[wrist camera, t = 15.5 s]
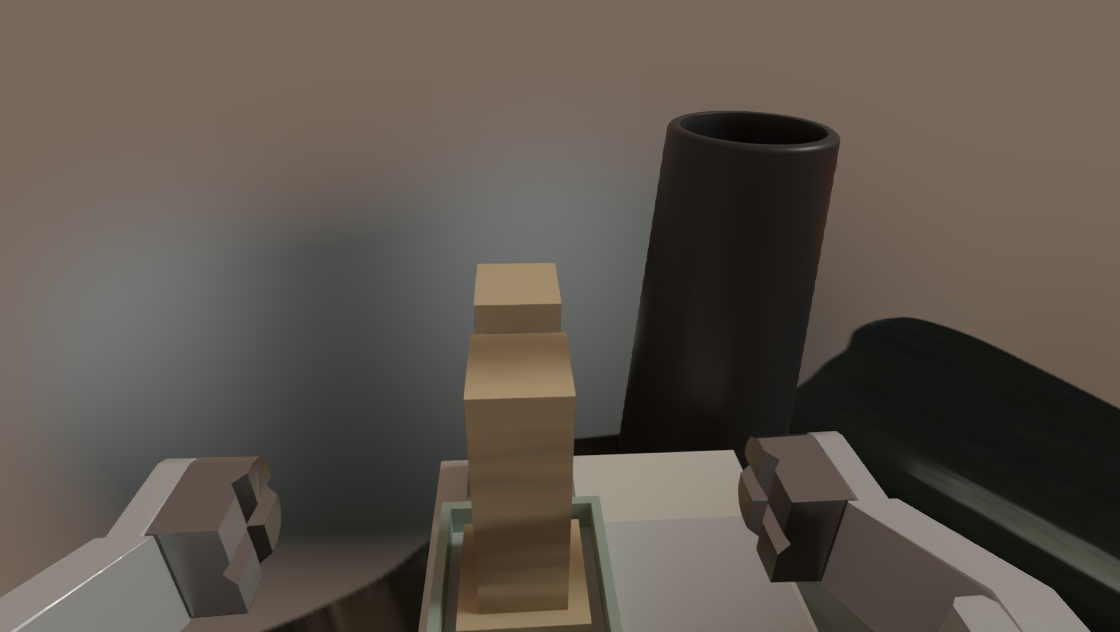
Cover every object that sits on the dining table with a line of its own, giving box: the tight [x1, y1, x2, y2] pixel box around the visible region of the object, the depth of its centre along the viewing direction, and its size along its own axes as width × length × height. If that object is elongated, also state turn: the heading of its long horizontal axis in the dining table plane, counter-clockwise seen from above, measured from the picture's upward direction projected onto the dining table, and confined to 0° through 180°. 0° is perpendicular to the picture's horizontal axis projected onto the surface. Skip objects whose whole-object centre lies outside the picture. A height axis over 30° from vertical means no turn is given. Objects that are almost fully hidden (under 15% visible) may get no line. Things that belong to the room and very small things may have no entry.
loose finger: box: [456, 332, 592, 632], centre depth 27 cm, size 6×6×14 cm
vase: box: [617, 111, 840, 470], centre depth 46 cm, size 14×14×29 cm
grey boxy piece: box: [418, 263, 818, 632], centre depth 32 cm, size 15×19×24 cm
